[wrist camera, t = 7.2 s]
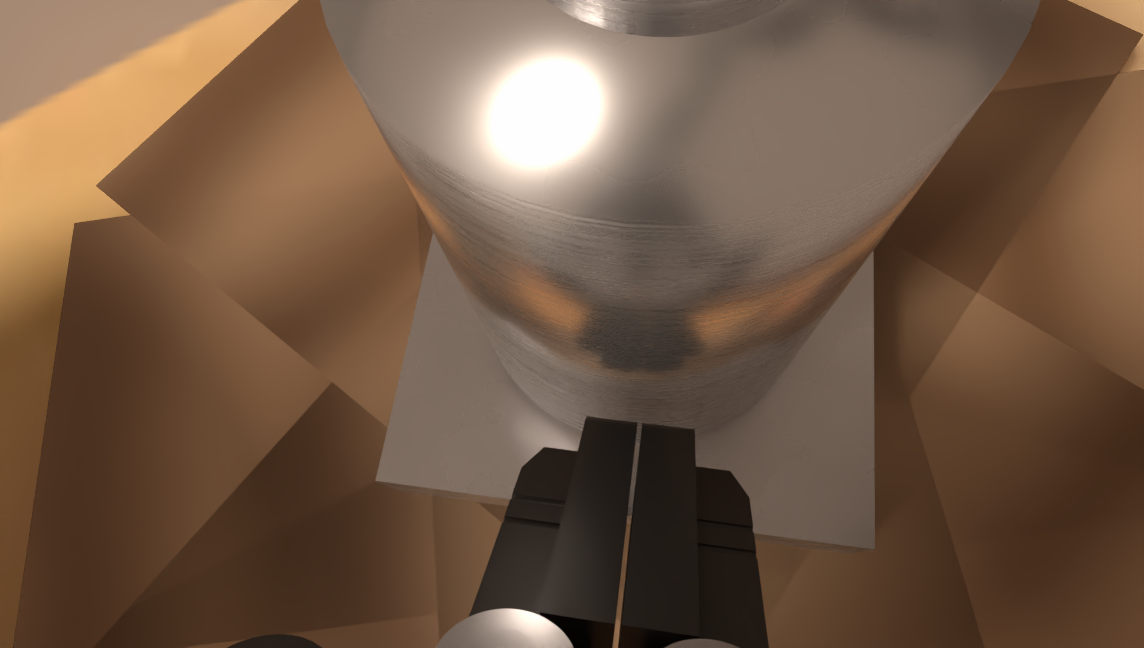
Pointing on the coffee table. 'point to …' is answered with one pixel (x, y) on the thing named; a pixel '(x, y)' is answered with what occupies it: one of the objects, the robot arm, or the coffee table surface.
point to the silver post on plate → (661, 226)
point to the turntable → (469, 529)
